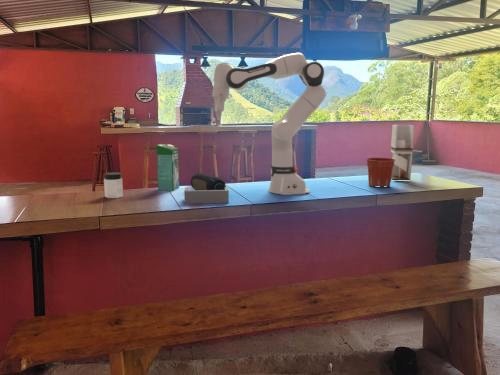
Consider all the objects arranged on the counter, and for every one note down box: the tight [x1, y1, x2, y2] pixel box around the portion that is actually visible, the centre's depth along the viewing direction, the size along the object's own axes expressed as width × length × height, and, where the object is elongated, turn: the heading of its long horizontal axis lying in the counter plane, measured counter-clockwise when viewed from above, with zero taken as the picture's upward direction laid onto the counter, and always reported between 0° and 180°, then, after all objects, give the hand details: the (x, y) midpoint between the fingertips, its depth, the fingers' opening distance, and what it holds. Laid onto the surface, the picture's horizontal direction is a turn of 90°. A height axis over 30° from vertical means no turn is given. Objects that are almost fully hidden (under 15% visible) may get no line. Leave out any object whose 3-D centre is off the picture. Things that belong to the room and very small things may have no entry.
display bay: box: [183, 186, 230, 204], centre depth 209 cm, size 21×10×6 cm, turn 96°
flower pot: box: [365, 157, 395, 187], centre depth 252 cm, size 16×16×16 cm
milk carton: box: [156, 143, 180, 192], centre depth 237 cm, size 9×9×25 cm
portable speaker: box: [190, 172, 227, 190], centre depth 228 cm, size 25×10×10 cm, turn 36°
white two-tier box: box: [390, 124, 415, 181], centre depth 270 cm, size 11×11×35 cm
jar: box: [103, 171, 124, 199], centre depth 217 cm, size 9×8×12 cm
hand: (218, 120), depth 231 cm, fingers open, 8 cm apart
